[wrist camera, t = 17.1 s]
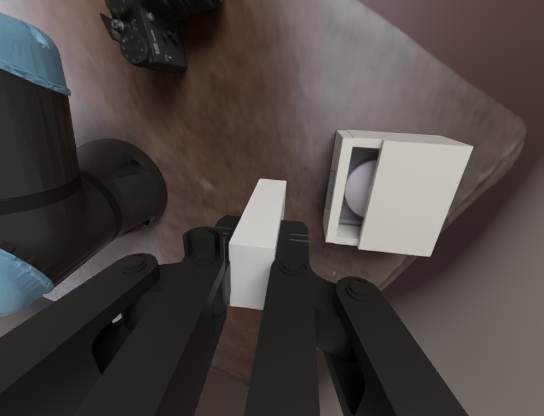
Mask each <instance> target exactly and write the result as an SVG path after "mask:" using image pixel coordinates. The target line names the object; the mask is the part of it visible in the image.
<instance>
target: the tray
mask: <svg viewBox="0 0 544 416" xmlns="http://www.w3.org/2000/svg"><path fill="white" fill-rule="evenodd" d="M353 142H354V138H353V137H352V136H351V135H350V134H349V133H348V132H347V131H343V130H337V131H336V138H335V144H334V151H333V157H332V164H331V170H330V173H329V179H328V186H327V193H326V199H325V209H324V216H323V227H324V233H325V240H326V242H332V243H335V239H336V233H337V228H338V223H345V224H355V225H362V223H363V219H364V217H362V216H359V215H358V214H356V213H355V212H353V211H352V210H351V208H350V207H349V205H348V203H347V201H346V198H345V196H344V190H345V185H346V179H347V176H348V174H349V173H350V171H351V170H352V169H353V168H354V167H355V166H357V165H358V164H360V163H362V162H364V161H366V160H369V159H375V158H378V155H379V151H380V148H367V147H353Z"/></svg>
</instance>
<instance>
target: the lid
mask: <svg viewBox="0 0 544 416" xmlns="http://www.w3.org/2000/svg"><path fill="white" fill-rule="evenodd" d="M377 159H378V158H375V159H369V160H366V161H364V162H362V163H360V164H358V165H357V166H355V167H354V168H353V169H352V170H351V171H350V173H349V174H348V176H347V179H346V185H345V190H344V196H345V198H346V201H347V203H348V205H349V207H350V208H351V210H352V211H353V212H355V213H356V214H358V215H359V216H362V217H364V215H365V210H366V206H367V202H368V198H369V193H370V189H371V185H372V181H373V176H374V172H375V168H376V163H377Z"/></svg>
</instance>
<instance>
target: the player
mask: <svg viewBox="0 0 544 416" xmlns="http://www.w3.org/2000/svg"><path fill="white" fill-rule="evenodd" d="M346 131H347V132H348V133H349V134H350V135H351V136H352V137H353V138H354V142H353V147H367V148H380V151H379V155H378V159H377V163H376V168H375V172H374V176H373V181H372V185H371V189H370V193H369V198H368V202H367V206H366V210H365V215H364V219H363V223H362V225H355V224H345V223H338V228H337V233H336V239H335V244H345V245H355V246H358V249H361V250H371V251H381V252H390V253H400V254H410V255H419V256H429V257H430V256H431V253H432V250H433V248H434V246H435V243H436V240H437V238H438V235H439V233H440V230H441V228H442V225H443V223H444V220H445V218H446V215H447V213H448V210H449V207H450V205H451V202H452V200H453V197H454V195H455V192H456V190H457V187H458V185H459V182H460V180H461V177H462V174H463V172H464V169H465V167H466V164H467V162H468V159H469V157H470V154H471V152H472V149H473V146H470V145H467V144H464V143H461V142H458V141H455V140H452V139H449V138H446V137H442V136H436V135H421V134H405V133H390V132H374V131H359V130H346Z"/></svg>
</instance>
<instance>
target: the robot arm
mask: <svg viewBox="0 0 544 416" xmlns="http://www.w3.org/2000/svg"><path fill="white" fill-rule="evenodd" d="M68 95H69V96H71V92H70V90H69V89H68V88H67V86H66V81H65V76H64V72H63V67H62V63H61V58H60V54H59V51H58V49H57V47H56V45H55V43H54V42H53V41H52V40H51V39H50V37H49V36H48V35H46V34H45V33H44V32H43V31H41V30H40V29H38V28H36V27H35V26H33V25H31V24H28V23H26V22H24V21H21V20H19V19H16V18H14V17H11V16H8V15H6V14H3V13H0V317H3V316H7V315H11V314H14V313H16V312H19V311H20V310H22V309H24V308H25V307H26V306H28V305H29V304H31V303H32V302H34V301H35V300H36V299H38V298H39V297H41V296H42V295H43V294H47V293H49V292H51V291H52V290H53V289H54V288H55V287H56V286H57V285H58V284H59V283H61V282H62V281H63V280H64V279H66V278H67V277H68V276H69V275H71V274H72V273H73V272H74V271H76V270H77V269H78V268H79V267H80V266H82V265H83V264H84V263H85V262H87V261H88V260H89V259H90V258H92V257H93V256H94V255H95V254H97V253H98V252H99V251H100V250H101V249H103V248H104V247H105V246H106V245H108V244H109V243H110V242H111V241H113V240H114V239H115V238H118V237H122V236H125V235H128V234H131V233H134V232H137V231H141V230H143V229H145V228H147V227H148V226H150V225H151V224H152V223H153V222H155V221H156V220H157V219H158V218H159V217H160V216H161V215H162V213H163V211H164V209H165V206H166V203H167V189H166V185H165V181H164V179H163V176H162V174H161V172H160V171H159V169H158V167H157V166H156V165H155V163H154V162H153V161H152V160H151V159H150V158H149V157H148V156H147V155H146V154H145V153H144V152H143V151H141V150H140V149H138V148H137V147H135V146H133V145H131V144H129V143H127V142H124V141H121V140H117V139H101V140H97V141H93V142H89V143H86V144H84V145H82V146H80V147H78V148H77V149H76V145H75V138H74V131H73V125H72V118H71V111H70V105H69V98H68ZM285 192H286V181H279V180H268V179H259V181H258V184H257V186H256V188H255V190H254V192H253V194H252V196H251V198H250V200H249V202H248V204H247V207H246V209H245V211H244V213H243V215H242V217H240V216H230V215H226V216H224V217H223V218H221V219H220V220H218V222H217V224H216V225H215V227H214V228H213V227H198V228H194V229H191V230H189V231H187V232H186V233H184V234H183V243H184V251H185V257H184V259H183V260H182V261H181V262H179V263H172V264H162V265H158V261H157V259H156V257H155V256H153V255H151V254H146V253H139V254H133V255H129V256H126V257H124V258H122V259H120V260H118V261H116V262H115V263H113V264H112V265H110V266H109V267H107V268H106V269H104V270H103V271H101V272H100V273H98V274H96V275H95V276H93V277H92V278H90V279H89V280H87V281H86V282H84V283H83V284H81V285H80V286H78V287H77V288H75V289H74V290H72V291H71V292H69V293H67V294H66V295H64V296H63V297H61V298H60V299H58V300H57V301H55V302H54V303H52V304H51V305H49V306H48V307H46V308H45V309H43V310H42V311H40V312H38V313H37V314H36V315H34V316H32V317H31V318H29V319H28V320H26V321H25V322H23V323H22V324H20V325H19V326H17V327H16V328H14V329H13V330H11V331H10V332H8V333H6V334H5V335H3V336H2V337H1V338H0V416H194V414H195V411H196V408H197V405H198V402H199V398H200V395H201V393H202V390H203V386H204V384H205V381H206V377H207V374H208V371H209V368H210V365H211V362H212V359H213V356H214V353H215V350H216V347H217V344H218V341H219V338H220V335H221V332H222V329H223V326H224V323H225V320H226V314H227V309H226V306H227V303H228V300H229V297H230V306H237V307H245V308H252V309H260V310H263V313H262V318H261V324H260V330H259V335H258V341H257V346H256V352H255V357H254V363H253V368H252V374H251V379H250V385H249V390H248V396H247V402H246V407H245V413H244V416H320V407H319V388H318V369H317V351H316V347H318V348H320V349H323V354H324V356H325V360H326V363H327V366H328V369H329V372H330V375H331V378H332V381H333V384H334V387H335V390H336V393H337V396H338V400H339V403H340V406H341V408H342V412H343V415H344V416H468V414H467V413H466V412H465V410H464V409H463V407H462V406H461V405H460V403H459V402H458V400H457V399H456V398H455V396H454V395H453V393H452V392H451V390H450V389H449V387H448V386H447V385H446V383H445V382H444V380H443V379H442V378H441V376H440V375H439V373H438V372H437V371H436V369H435V368H434V366H433V365H432V363H431V362H430V360H429V359H428V358H427V356H426V355H425V353H424V352H423V351H422V349H421V348H420V346H419V345H418V344H417V342H416V341H415V339H414V338H413V337H412V335H411V334H410V332H409V331H408V330H407V328H406V326H405V325H404V324H403V322H402V321H401V319H400V318H399V317H398V315H397V314H396V312H395V311H394V309H393V308H392V307H391V305H390V304H389V302H388V301H387V300H386V298H385V297H384V295H383V294H382V292H381V291H380V290H379V289H378V288H377V287H376V286H375V285H374V284H372V283H371V282H369V281H367V280H365V279H362V278H359V277H352V276H349V277H344V278H342V279H340V280H339V281H338V282H337V284H336V283H333V282H330V281H327V280H325V279H323V278H321V277H319V276H318V275H316V274H315V273H314V272H313V271H312V269H311V266H310V264H309V246H308V228H307V227H306V225H305V224H304V223H303V222H297V221H287V220H283V215H284V204H285ZM120 313H121V316H122V318H121V319H120V320H118V321H117V322H115V323H112V320H114V319H115V318H116V317H117V316H118V315H119V314H120Z"/></svg>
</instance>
